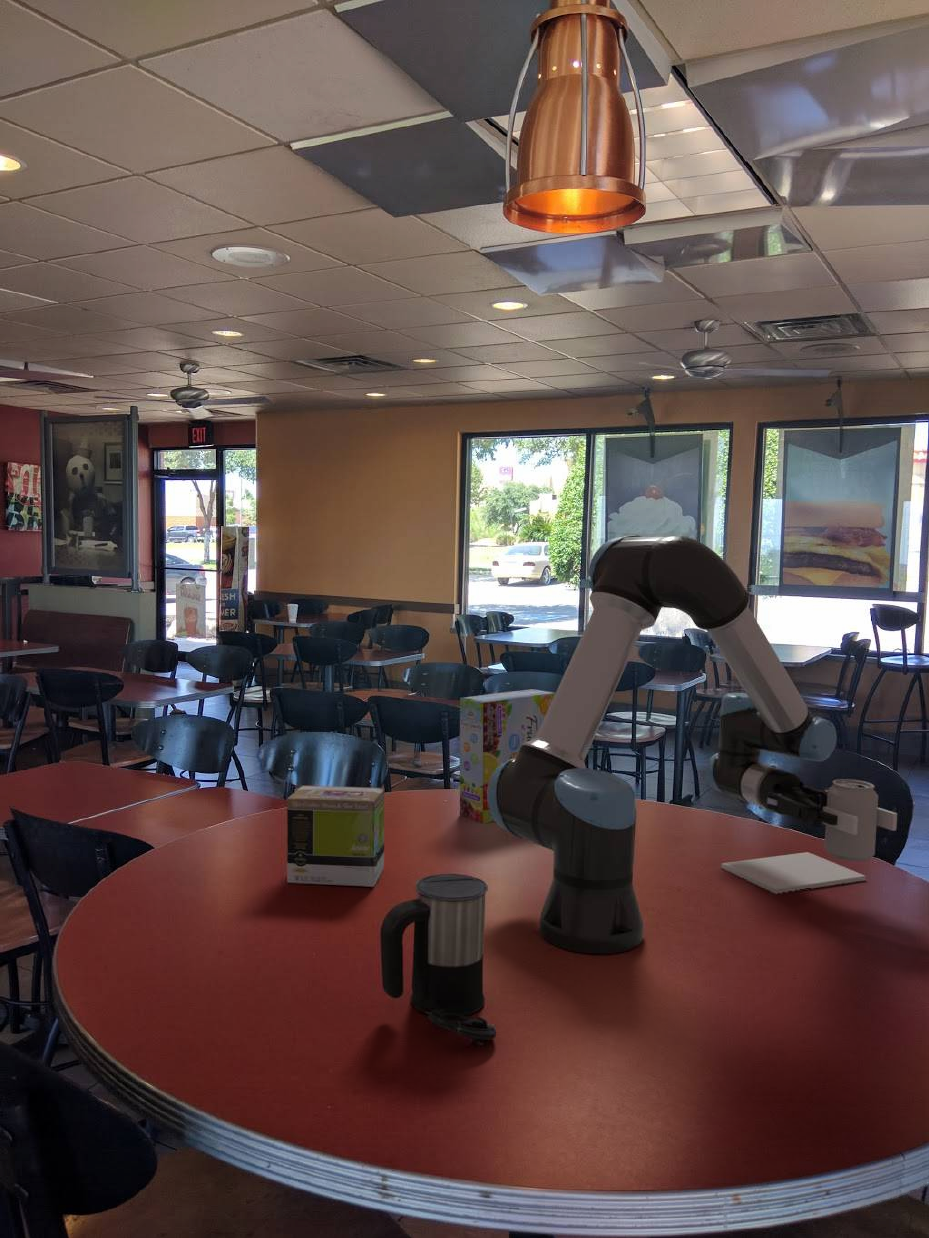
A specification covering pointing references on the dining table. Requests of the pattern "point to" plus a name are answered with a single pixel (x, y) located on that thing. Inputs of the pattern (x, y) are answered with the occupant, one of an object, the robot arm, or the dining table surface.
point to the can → (858, 803)
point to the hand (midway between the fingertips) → (875, 823)
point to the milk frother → (441, 952)
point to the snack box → (494, 740)
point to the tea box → (335, 835)
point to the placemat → (792, 872)
